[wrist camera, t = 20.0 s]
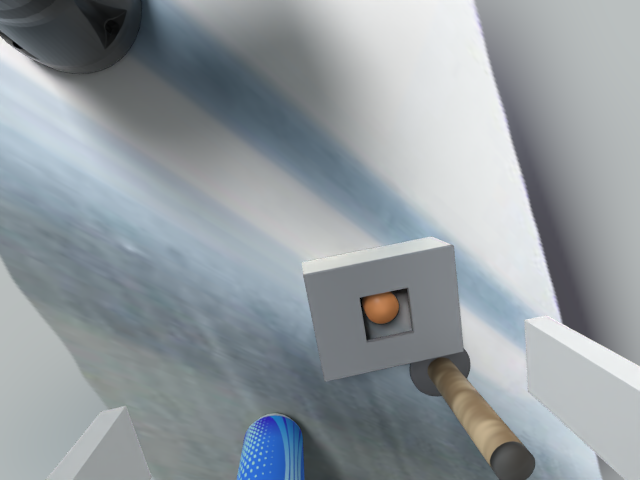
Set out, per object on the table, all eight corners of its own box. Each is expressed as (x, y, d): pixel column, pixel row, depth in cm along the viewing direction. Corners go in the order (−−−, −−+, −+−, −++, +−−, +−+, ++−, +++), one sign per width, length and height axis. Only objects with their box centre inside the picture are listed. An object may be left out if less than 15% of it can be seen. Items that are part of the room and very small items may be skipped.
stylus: (429, 384, 47) (497, 488, 31) (426, 360, 46) (494, 454, 30) (454, 378, 47) (535, 478, 31) (452, 354, 46) (534, 445, 31)
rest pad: (413, 399, 48) (415, 401, 47) (406, 346, 46) (407, 348, 45) (470, 386, 48) (472, 388, 48) (465, 333, 46) (467, 335, 46)
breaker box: (320, 355, 45) (324, 381, 39) (301, 262, 42) (303, 276, 36) (441, 329, 46) (463, 351, 40) (431, 236, 43) (453, 245, 37)
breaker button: (364, 320, 43) (367, 326, 41) (359, 290, 42) (362, 295, 40) (396, 313, 43) (400, 319, 41) (391, 283, 42) (396, 288, 40)
